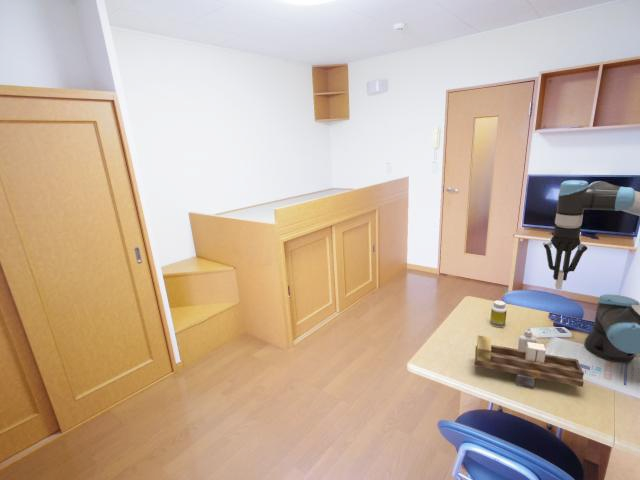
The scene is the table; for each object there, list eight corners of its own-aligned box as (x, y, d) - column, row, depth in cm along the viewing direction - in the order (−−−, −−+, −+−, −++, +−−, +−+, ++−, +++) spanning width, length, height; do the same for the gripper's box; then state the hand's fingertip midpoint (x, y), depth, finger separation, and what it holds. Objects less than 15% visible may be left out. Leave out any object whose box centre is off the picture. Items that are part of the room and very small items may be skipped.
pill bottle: (506, 328, 151) (508, 306, 148) (491, 326, 153) (493, 305, 150) (503, 321, 157) (505, 300, 154) (488, 320, 159) (490, 299, 156)
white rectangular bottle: (531, 360, 129) (534, 332, 126) (515, 353, 134) (518, 327, 130) (535, 355, 132) (539, 328, 129) (520, 349, 136) (523, 323, 133)
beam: (572, 376, 120) (577, 349, 117) (581, 399, 109) (587, 370, 106) (474, 357, 133) (476, 333, 130) (474, 376, 122) (476, 350, 119)
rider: (541, 361, 119) (543, 344, 117) (543, 368, 115) (545, 350, 113) (525, 358, 121) (527, 341, 119) (526, 365, 117) (528, 348, 115)
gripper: (587, 223, 117) (577, 285, 123) (543, 222, 122) (535, 281, 129) (594, 229, 110) (582, 294, 117) (547, 227, 116) (538, 289, 122)
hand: (558, 287), depth 123 cm, fingers closed
